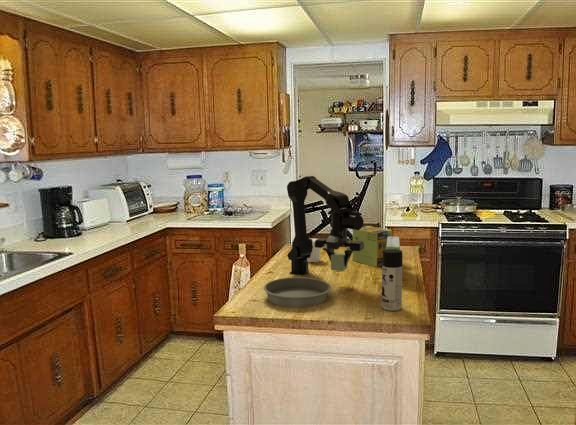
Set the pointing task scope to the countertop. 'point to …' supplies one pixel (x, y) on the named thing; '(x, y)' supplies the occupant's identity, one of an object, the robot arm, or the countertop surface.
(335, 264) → the olive block
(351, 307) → the countertop surface
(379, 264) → the protein box
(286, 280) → the cake pan
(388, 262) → the spray can
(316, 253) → the white cup
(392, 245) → the snack box
